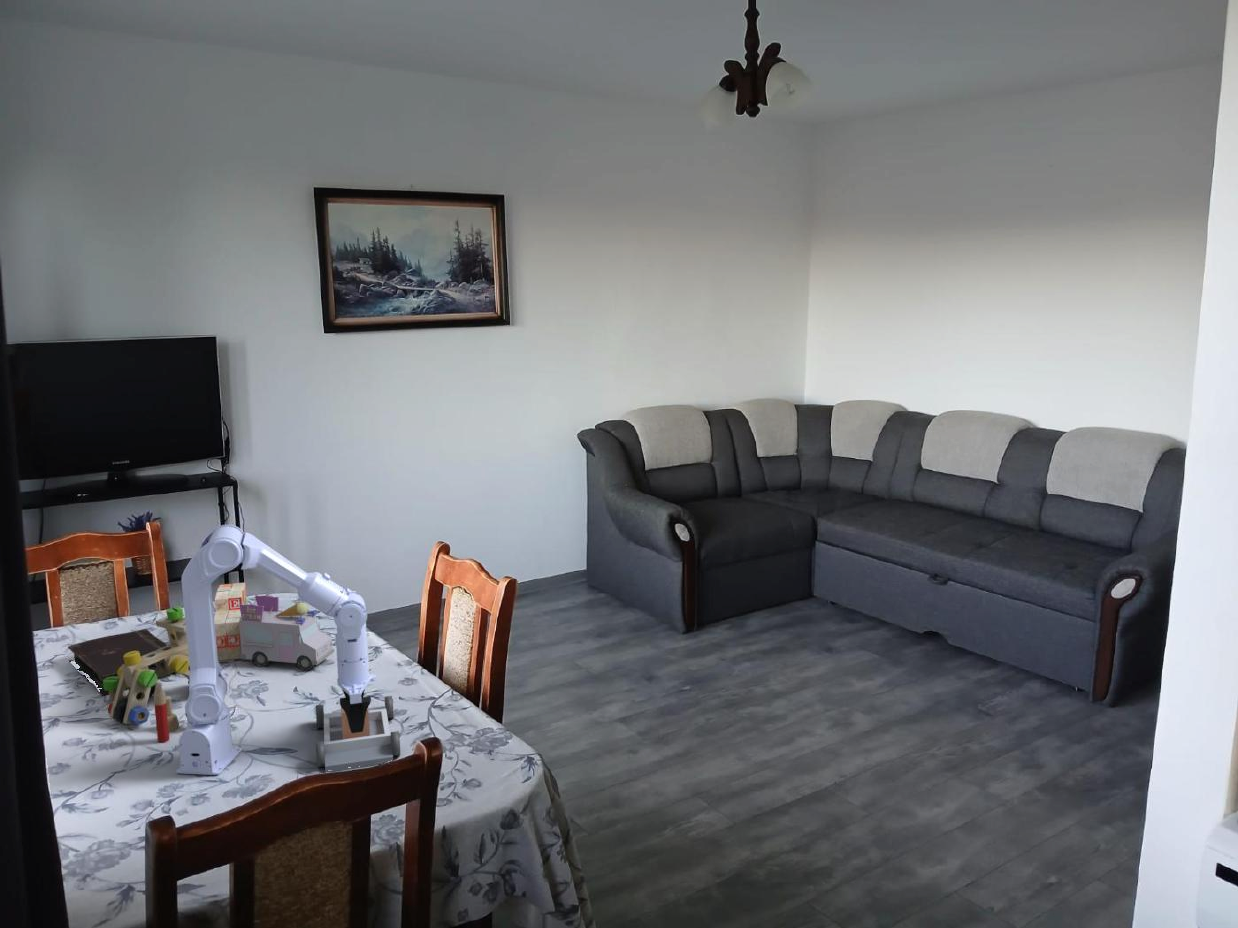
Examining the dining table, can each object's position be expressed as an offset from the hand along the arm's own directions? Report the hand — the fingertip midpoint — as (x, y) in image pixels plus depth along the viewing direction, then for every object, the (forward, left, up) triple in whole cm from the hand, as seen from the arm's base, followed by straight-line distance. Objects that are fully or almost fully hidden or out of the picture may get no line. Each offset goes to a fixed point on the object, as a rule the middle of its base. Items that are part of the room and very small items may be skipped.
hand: (356, 722), depth 181 cm
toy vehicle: (+35, +29, -4) cm, 46 cm away
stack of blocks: (+46, +48, -4) cm, 66 cm away
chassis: (0, 0, -4) cm, 4 cm away
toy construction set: (+8, +43, -4) cm, 44 cm away
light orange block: (0, 0, -2) cm, 2 cm away
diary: (+29, +65, -4) cm, 71 cm away
